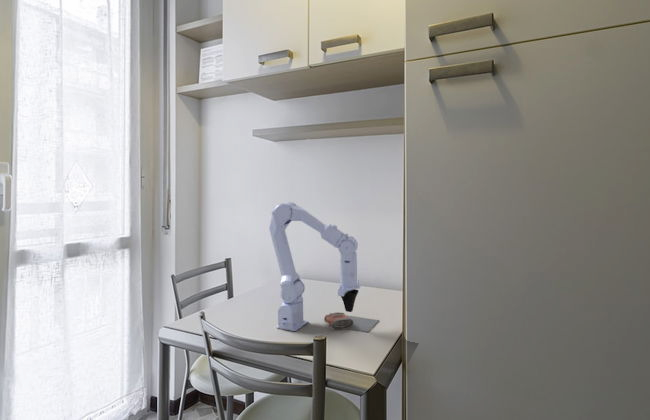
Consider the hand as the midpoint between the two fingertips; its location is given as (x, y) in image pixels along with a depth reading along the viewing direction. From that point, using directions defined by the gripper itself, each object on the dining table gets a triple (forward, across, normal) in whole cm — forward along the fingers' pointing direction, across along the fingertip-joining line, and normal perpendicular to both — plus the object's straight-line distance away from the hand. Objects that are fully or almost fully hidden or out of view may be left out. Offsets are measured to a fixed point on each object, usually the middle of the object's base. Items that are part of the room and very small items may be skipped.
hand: (349, 311), depth 128 cm
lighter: (+4, -2, +2) cm, 5 cm away
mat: (+6, +6, 0) cm, 9 cm away
